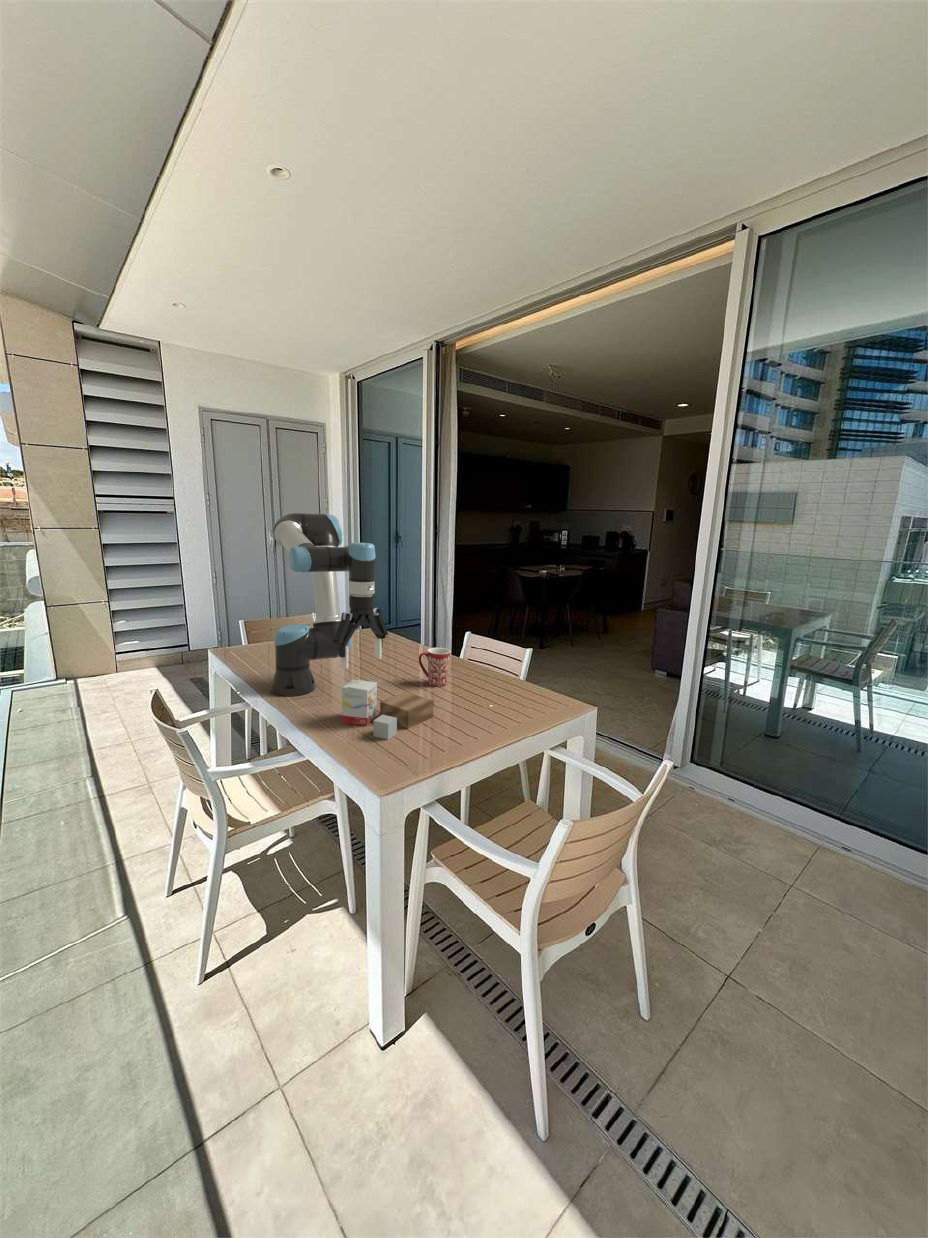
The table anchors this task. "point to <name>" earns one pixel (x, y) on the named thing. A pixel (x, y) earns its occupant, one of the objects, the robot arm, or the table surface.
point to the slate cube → (385, 727)
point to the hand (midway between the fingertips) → (361, 662)
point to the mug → (436, 666)
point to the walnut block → (407, 709)
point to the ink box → (359, 702)
